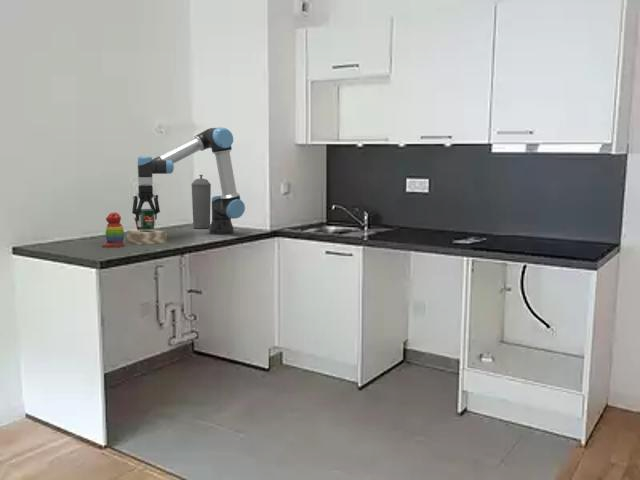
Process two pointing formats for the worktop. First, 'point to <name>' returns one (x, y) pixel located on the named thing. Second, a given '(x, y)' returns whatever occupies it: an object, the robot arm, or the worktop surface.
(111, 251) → the worktop surface
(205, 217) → the canister
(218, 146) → the robot arm
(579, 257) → the worktop surface
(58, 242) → the worktop surface
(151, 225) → the canned tomato
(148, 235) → the base block
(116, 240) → the stacking bear
